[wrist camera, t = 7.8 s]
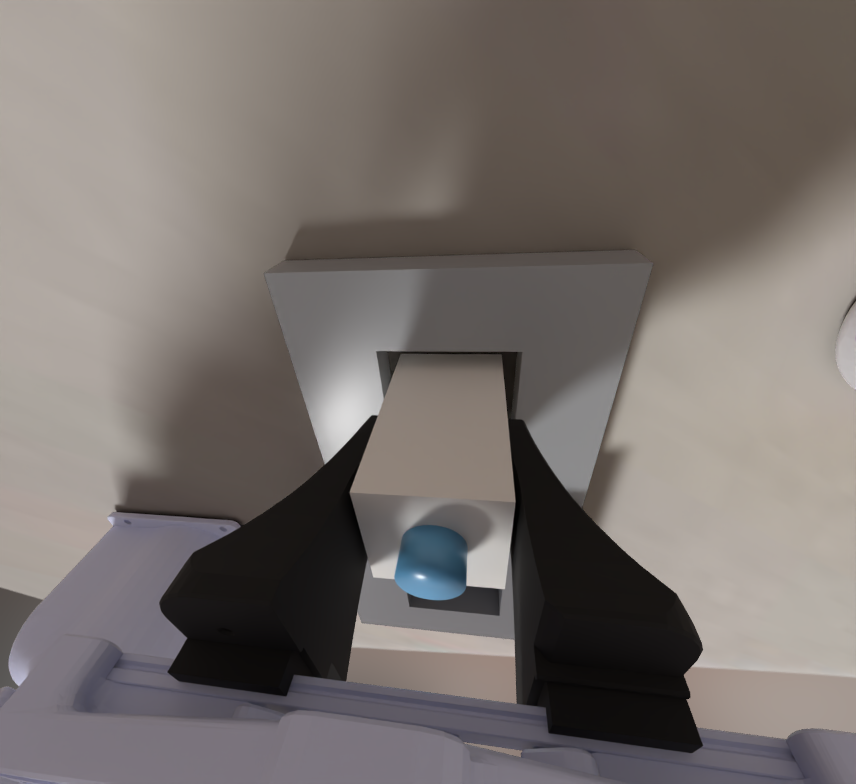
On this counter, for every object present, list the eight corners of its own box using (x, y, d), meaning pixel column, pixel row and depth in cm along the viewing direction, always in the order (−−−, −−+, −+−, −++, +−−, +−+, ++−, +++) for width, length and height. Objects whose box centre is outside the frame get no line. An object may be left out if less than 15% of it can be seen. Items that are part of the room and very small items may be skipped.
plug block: (409, 428, 17) (365, 611, 10) (400, 353, 15) (336, 528, 8) (496, 431, 16) (506, 626, 10) (501, 354, 14) (519, 541, 8)
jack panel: (372, 577, 26) (361, 623, 23) (283, 260, 13) (238, 288, 11) (547, 592, 24) (554, 643, 22) (635, 249, 12) (676, 279, 9)
